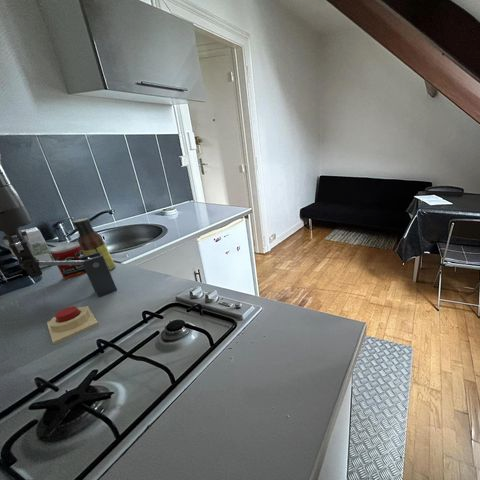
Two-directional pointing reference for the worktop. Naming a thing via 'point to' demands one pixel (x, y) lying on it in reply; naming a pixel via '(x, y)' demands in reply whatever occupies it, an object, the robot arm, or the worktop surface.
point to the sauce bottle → (92, 241)
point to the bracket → (98, 274)
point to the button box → (71, 325)
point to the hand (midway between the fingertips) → (35, 273)
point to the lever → (60, 262)
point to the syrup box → (39, 245)
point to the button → (67, 314)
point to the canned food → (68, 253)
